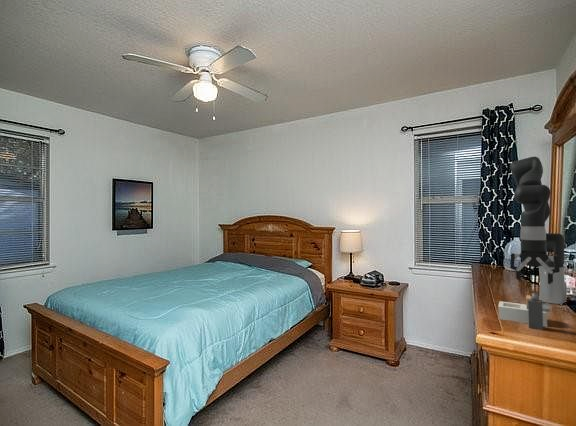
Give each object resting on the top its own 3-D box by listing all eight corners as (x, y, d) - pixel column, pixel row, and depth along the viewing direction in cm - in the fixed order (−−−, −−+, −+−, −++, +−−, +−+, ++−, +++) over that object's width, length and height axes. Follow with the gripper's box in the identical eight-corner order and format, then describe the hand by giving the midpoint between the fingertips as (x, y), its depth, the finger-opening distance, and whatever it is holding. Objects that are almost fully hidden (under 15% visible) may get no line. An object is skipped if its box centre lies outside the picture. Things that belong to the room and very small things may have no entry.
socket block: (499, 312, 132) (499, 301, 132) (545, 319, 123) (545, 306, 123) (498, 319, 124) (498, 306, 124) (547, 326, 115) (546, 312, 115)
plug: (528, 325, 116) (527, 291, 117) (542, 327, 114) (541, 293, 114) (529, 328, 113) (528, 293, 114) (543, 330, 111) (542, 295, 111)
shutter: (526, 304, 125) (526, 295, 125) (548, 307, 121) (548, 297, 121) (526, 308, 120) (526, 298, 120) (550, 312, 115) (549, 301, 116)
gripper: (509, 238, 116) (510, 281, 115) (559, 239, 107) (560, 286, 107) (509, 237, 122) (510, 278, 121) (557, 238, 113) (558, 283, 113)
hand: (534, 282), depth 114 cm, fingers open, 8 cm apart
